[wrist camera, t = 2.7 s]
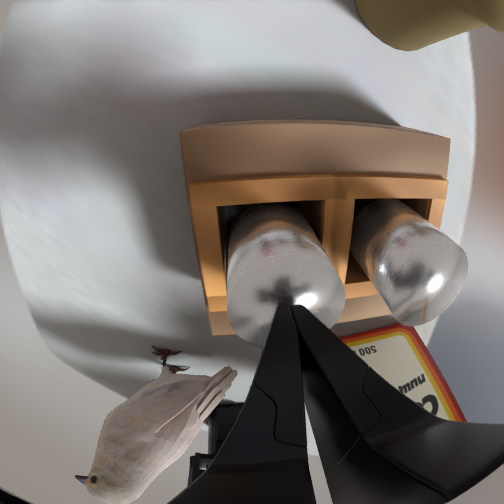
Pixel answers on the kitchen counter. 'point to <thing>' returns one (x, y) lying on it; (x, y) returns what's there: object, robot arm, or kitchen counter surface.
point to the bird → (152, 430)
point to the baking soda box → (407, 367)
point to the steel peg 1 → (277, 271)
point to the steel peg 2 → (407, 261)
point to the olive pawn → (427, 19)
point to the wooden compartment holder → (306, 189)
